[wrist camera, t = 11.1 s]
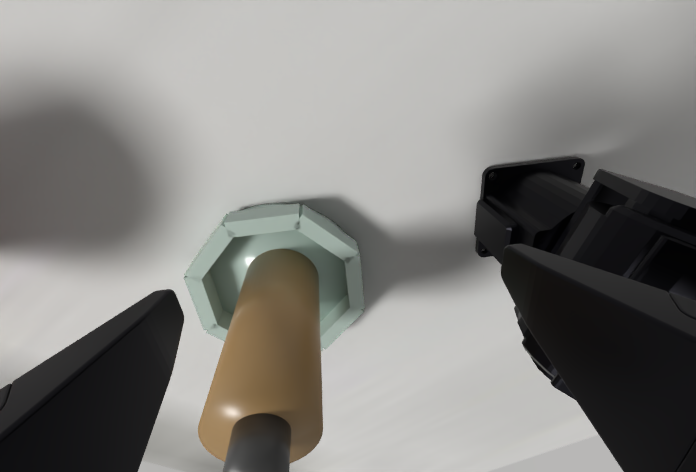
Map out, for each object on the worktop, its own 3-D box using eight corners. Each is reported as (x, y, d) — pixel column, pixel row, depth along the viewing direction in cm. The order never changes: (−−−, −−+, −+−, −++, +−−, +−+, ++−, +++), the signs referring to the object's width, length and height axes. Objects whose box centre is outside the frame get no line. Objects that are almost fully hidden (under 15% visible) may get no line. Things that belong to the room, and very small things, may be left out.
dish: (351, 193, 22) (355, 206, 20) (364, 324, 27) (368, 344, 25) (178, 214, 22) (165, 230, 20) (224, 342, 27) (217, 365, 25)
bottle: (313, 244, 23) (314, 433, 11) (323, 303, 25) (331, 511, 14) (238, 253, 23) (160, 455, 11) (254, 312, 25) (204, 530, 13)
